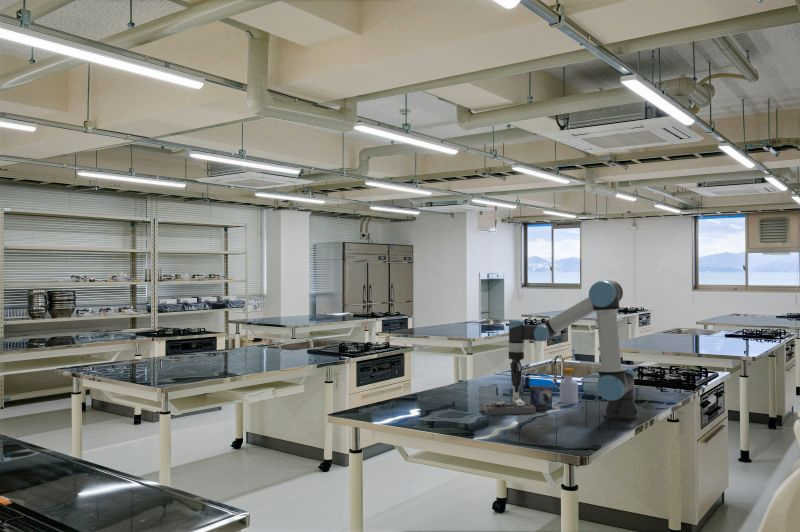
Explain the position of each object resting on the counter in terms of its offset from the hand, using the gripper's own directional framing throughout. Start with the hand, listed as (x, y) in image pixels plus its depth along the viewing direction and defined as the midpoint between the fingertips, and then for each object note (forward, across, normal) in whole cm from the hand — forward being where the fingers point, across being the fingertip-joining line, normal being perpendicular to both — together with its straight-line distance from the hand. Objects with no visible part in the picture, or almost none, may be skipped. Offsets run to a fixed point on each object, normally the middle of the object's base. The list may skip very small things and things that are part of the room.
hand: (515, 398), depth 311 cm
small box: (+6, +4, -14) cm, 16 cm away
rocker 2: (+1, -4, 0) cm, 4 cm away
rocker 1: (+1, -4, +10) cm, 11 cm away
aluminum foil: (+7, +76, -81) cm, 111 cm away
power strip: (+6, -4, +5) cm, 8 cm away
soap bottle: (+6, +13, -32) cm, 35 cm away
